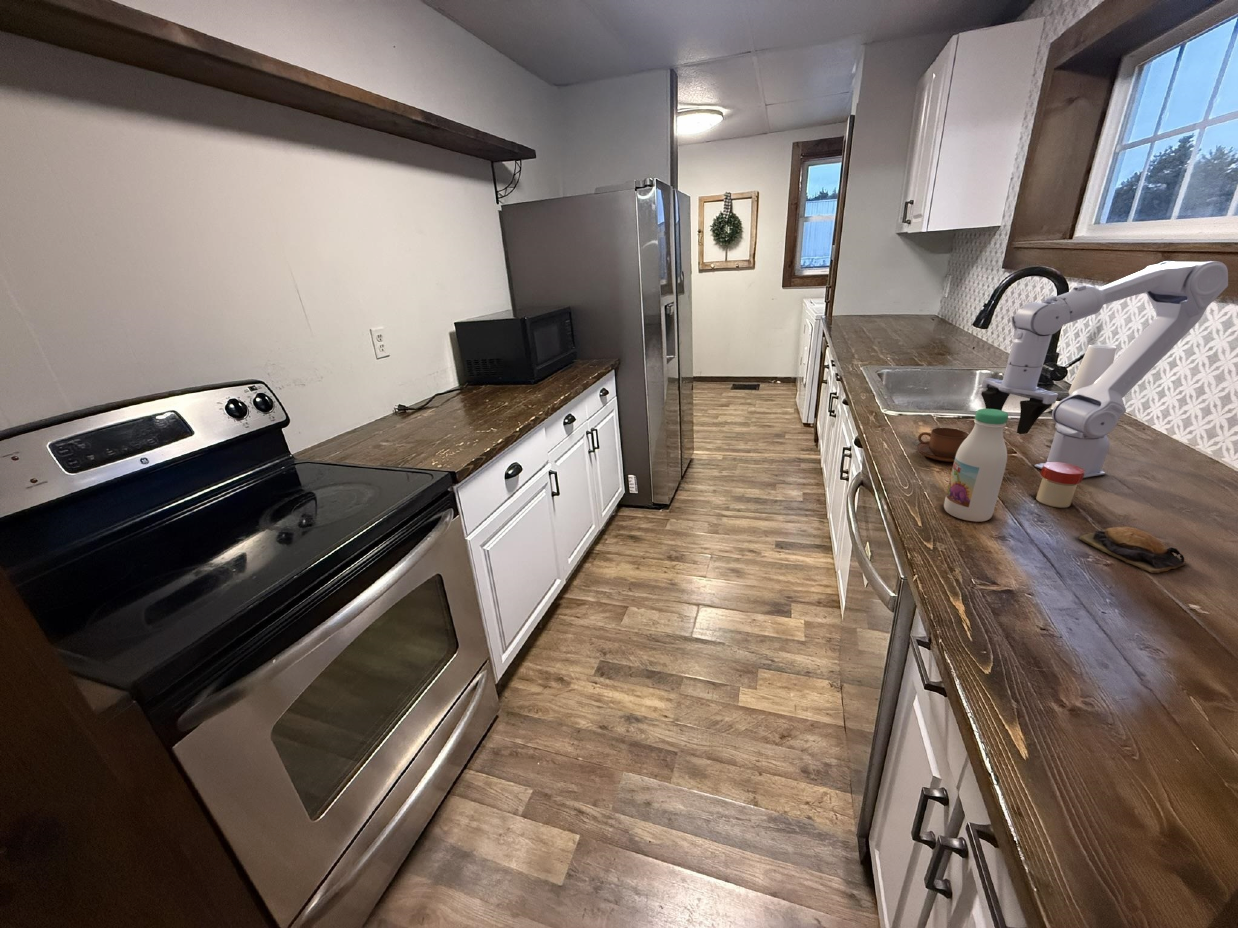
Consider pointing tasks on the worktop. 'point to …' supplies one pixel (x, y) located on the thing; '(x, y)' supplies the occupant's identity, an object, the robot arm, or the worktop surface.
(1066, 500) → the honey jar
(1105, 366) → the white tall block
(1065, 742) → the worktop surface
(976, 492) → the milk bottle
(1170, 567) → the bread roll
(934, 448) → the cup and saucer
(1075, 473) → the honey lid
